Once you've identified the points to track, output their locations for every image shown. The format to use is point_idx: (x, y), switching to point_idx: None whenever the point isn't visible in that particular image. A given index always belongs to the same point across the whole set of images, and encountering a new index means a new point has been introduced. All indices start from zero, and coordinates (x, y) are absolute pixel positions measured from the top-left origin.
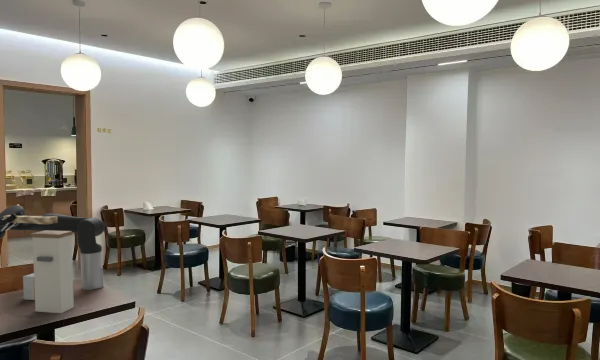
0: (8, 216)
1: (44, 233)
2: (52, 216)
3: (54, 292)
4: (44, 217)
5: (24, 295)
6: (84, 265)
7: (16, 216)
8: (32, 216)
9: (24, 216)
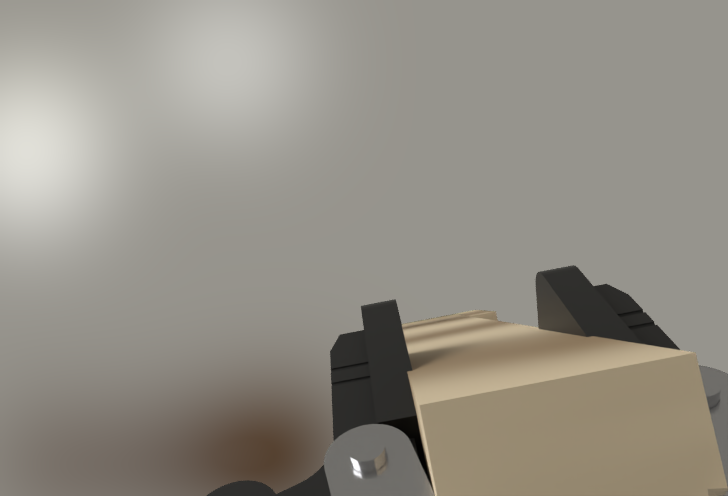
0: (612, 342)
1: None
2: None
3: None
4: (451, 317)
5: None
6: None
7: (542, 325)
8: (435, 330)
9: (473, 331)
